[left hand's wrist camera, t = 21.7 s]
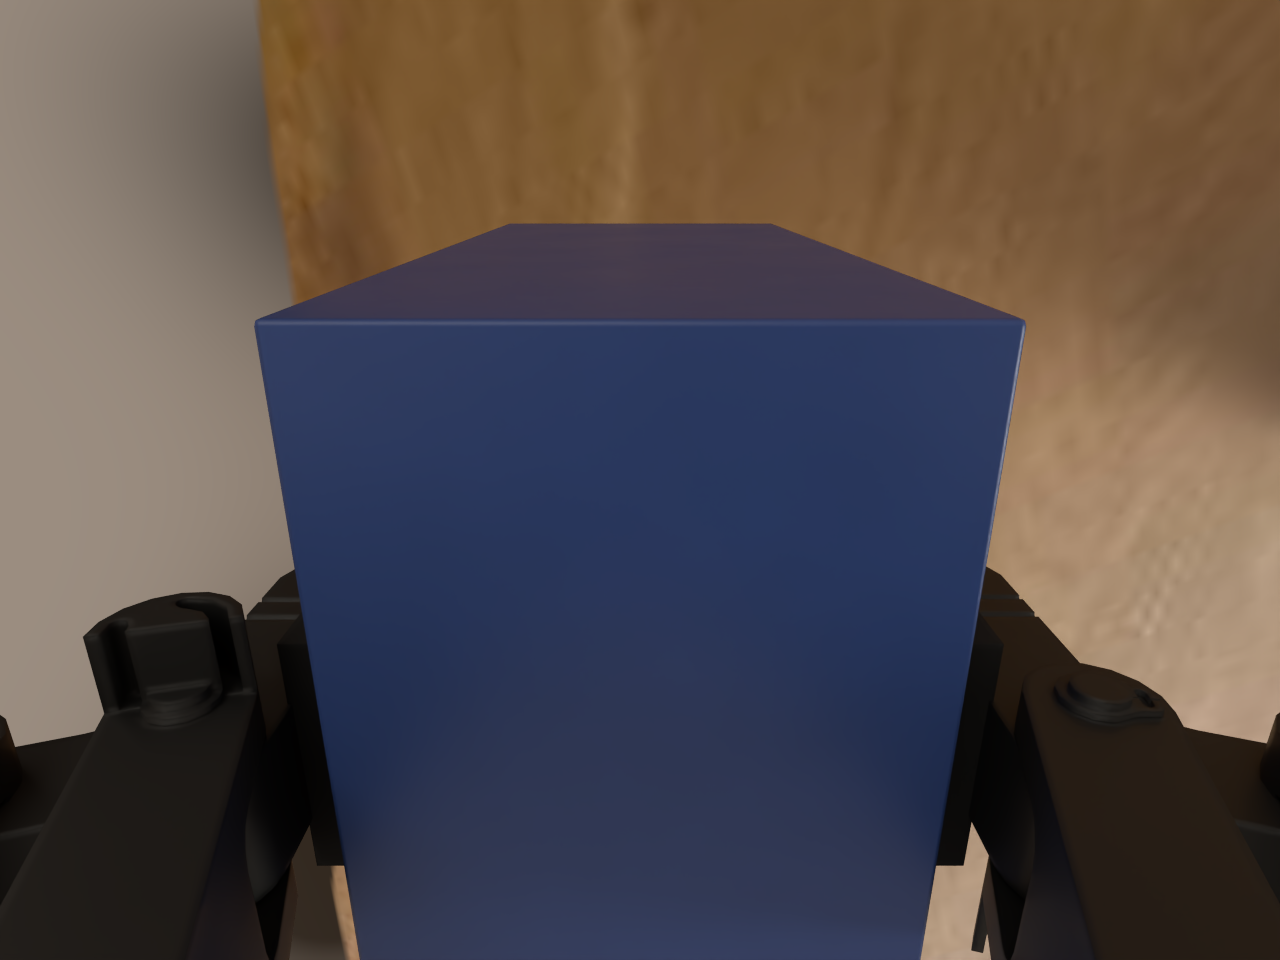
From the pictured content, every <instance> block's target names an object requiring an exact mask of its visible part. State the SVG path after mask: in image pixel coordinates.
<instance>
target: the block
mask: <svg viewBox="0 0 1280 960" xmlns="http://www.w3.org/2000/svg"><path fill="white" fill-rule="evenodd" d="M254 327H255V333H256V339H257V345H258V351H259V357H260V363H261V369H262V375H263V381H264V387H265V393H266V399H267V405H268V411H269V417H270V423H271V429H272V435H273V441H274V447H275V453H276V459H277V465H278V471H279V477H280V483H281V489H282V495H283V501H284V507H285V513H286V519H287V525H288V531H289V537H290V543H291V549H292V555H293V561H294V567H295V573H296V579H297V585H298V591H299V597H300V603H301V609H302V615H303V621H304V627H305V633H306V639H307V645H308V651H309V657H310V663H311V669H312V675H313V681H314V687H315V693H316V699H317V705H318V711H319V717H320V723H321V729H322V735H323V741H324V747H325V753H326V759H327V765H328V771H329V777H330V783H331V789H332V795H333V801H334V807H335V813H336V819H337V825H338V831H339V837H340V843H341V849H342V855H343V861H344V867H345V873H346V879H347V885H348V891H349V897H350V903H351V909H352V915H353V921H354V927H355V933H356V939H357V945H358V951H359V957H360V960H920V958H921V952H922V946H923V940H924V934H925V928H926V922H927V916H928V910H929V904H930V898H931V892H932V886H933V880H934V874H935V868H936V862H937V856H938V850H939V844H940V838H941V832H942V827H943V821H944V815H945V809H946V803H947V797H948V791H949V785H950V779H951V773H952V767H953V761H954V755H955V749H956V743H957V737H958V731H959V725H960V719H961V713H962V707H963V701H964V695H965V689H966V683H967V677H968V671H969V665H970V659H971V653H972V647H973V641H974V635H975V629H976V623H977V617H978V611H979V605H980V599H981V593H982V587H983V581H984V575H985V569H986V563H987V557H988V551H989V545H990V539H991V533H992V527H993V521H994V515H995V509H996V503H997V497H998V491H999V485H1000V479H1001V473H1002V467H1003V461H1004V455H1005V449H1006V443H1007V437H1008V431H1009V425H1010V419H1011V413H1012V407H1013V401H1014V395H1015V389H1016V383H1017V377H1018V371H1019V365H1020V359H1021V353H1022V347H1023V341H1024V335H1025V329H1026V324H1025V321H1024V320H1023V319H1020V318H1018V317H1015V316H1013V315H1010V314H1007V313H1005V312H1002V311H999V310H997V309H994V308H991V307H989V306H986V305H984V304H981V303H978V302H976V301H973V300H970V299H968V298H965V297H963V296H960V295H957V294H955V293H952V292H949V291H947V290H944V289H941V288H939V287H936V286H934V285H931V284H928V283H926V282H923V281H920V280H918V279H915V278H912V277H910V276H907V275H905V274H902V273H899V272H897V271H894V270H891V269H889V268H886V267H884V266H881V265H878V264H876V263H873V262H870V261H868V260H865V259H862V258H860V257H857V256H855V255H852V254H849V253H847V252H844V251H841V250H839V249H836V248H833V247H831V246H828V245H826V244H823V243H820V242H818V241H815V240H812V239H810V238H807V237H805V236H802V235H799V234H797V233H794V232H791V231H789V230H786V229H783V228H781V227H778V226H776V225H773V224H508V225H505V226H503V227H500V228H497V229H495V230H492V231H489V232H487V233H484V234H481V235H479V236H476V237H473V238H471V239H468V240H466V241H463V242H460V243H458V244H455V245H452V246H450V247H447V248H444V249H442V250H439V251H437V252H434V253H431V254H429V255H426V256H423V257H421V258H418V259H415V260H413V261H410V262H407V263H405V264H402V265H400V266H397V267H394V268H392V269H389V270H386V271H384V272H381V273H378V274H376V275H373V276H371V277H368V278H365V279H363V280H360V281H357V282H355V283H352V284H349V285H347V286H344V287H341V288H339V289H336V290H334V291H331V292H328V293H326V294H323V295H320V296H318V297H315V298H312V299H310V300H307V301H304V302H302V303H299V304H297V305H294V306H291V307H289V308H286V309H283V310H281V311H278V312H276V313H273V314H270V315H268V316H265V317H262V318H260V319H258V320H256V321H255V326H254Z"/></svg>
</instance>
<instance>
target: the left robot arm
mask: <svg viewBox="0 0 1280 960" xmlns="http://www.w3.org/2000/svg"><path fill="white" fill-rule="evenodd" d="M83 639H84V642H85V646H86V650H87V653H88V657H89V660H90V664H91V668H92V671H93V675H94V678H95V682H96V685H97V689H98V692H99V696H100V700H101V703H102V707H103V710H104V715H103V717H102V719H101V721H100V723H99V724H98V726H97V728H96V730H95V731H94V732H90V733H86V734H81V735H76V736H71V737H66V738H61V739H55V740H50V741H45V742H39V743H35V744H29V745H24V746H18V747H15V746H14V742H13V739H12V736H11V733H10V730H9V727H8V724H7V721H6V719H5V718H4V717H2V716H1V715H0V960H289V957H290V949H291V942H292V935H293V928H294V920H295V913H296V906H297V898H298V893H297V886H296V878H295V873H294V868H293V863H292V858H293V856H294V854H295V852H296V850H297V848H298V846H299V844H300V842H301V840H302V839H303V837H304V835H305V833H306V831H307V829H308V827H309V825H310V829H311V835H312V840H313V846H314V851H315V857H316V862H317V866H344V861H343V855H342V849H341V843H340V837H339V831H338V825H337V819H336V813H335V807H334V801H333V795H332V789H331V783H330V777H329V771H328V765H327V759H326V753H325V747H324V741H323V735H322V729H321V723H320V717H319V711H318V705H317V699H316V693H315V687H314V681H313V675H312V669H311V663H310V657H309V651H308V645H307V639H306V633H305V627H304V621H303V615H302V609H301V603H300V597H299V591H298V585H297V579H296V573H295V570H293V571H291V572H289V573H288V574H286V575H284V576H282V577H281V578H280V579H279V580H278V581H277V582H276V583H275V584H274V585H273V586H272V588H271V589H270V590H269V591H268V592H267V593H266V594H265V595H264V597H263V598H262V602H258V603H257V604H256V606H255V607H254V608H253V609H252V610H251V611H250V612H249V613H248V615H247V620H245V619H244V614H243V609H242V604H240V603H239V602H237V601H236V600H235V599H233V598H232V597H230V596H227V595H222V594H216V593H211V592H197V593H179V594H174V595H169V596H164V597H159V598H154V599H150V600H147V601H144V602H141V603H138V604H136V605H133V606H130V607H127V608H124V609H122V610H120V611H118V612H116V613H114V614H113V615H111V616H109V617H107V618H105V619H103V620H102V621H100V622H98V623H97V624H96V625H95V626H94V627H93V628H92V629H91V630H90V631H89V632H88V633H87V634H85V635H84V636H83ZM971 822H972V823H973V825H974V827H975V829H976V831H977V833H978V835H979V837H980V839H981V841H982V843H983V845H984V847H985V849H986V851H987V853H988V855H989V858H988V863H987V868H986V873H985V878H984V883H983V888H982V893H981V898H980V904H979V909H978V914H977V919H976V924H975V929H974V935H973V942H972V949H971V950H972V951H976V952H981V953H983V950H984V945H985V940H986V935H987V934H988V940H989V947H990V955H991V960H1280V713H1279V714H1277V715H1276V718H1275V721H1274V724H1273V727H1272V730H1271V733H1270V736H1269V739H1268V742H1267V744H1266V743H1261V742H1256V741H1251V740H1245V739H1240V738H1235V737H1230V736H1224V735H1219V734H1214V733H1208V732H1203V731H1198V730H1194V729H1190V728H1186V727H1183V725H1182V723H1181V721H1180V719H1179V717H1178V716H1177V714H1176V712H1175V711H1174V710H1173V709H1172V708H1171V706H1170V705H1169V704H1168V703H1167V702H1166V701H1165V700H1164V698H1163V697H1162V696H1161V695H1159V694H1157V693H1156V692H1154V691H1153V690H1151V689H1150V688H1148V687H1147V686H1145V685H1144V684H1142V683H1141V682H1139V681H1137V680H1134V679H1132V678H1130V677H1127V676H1125V675H1122V674H1120V673H1117V672H1115V671H1112V670H1109V669H1105V668H1100V667H1096V666H1092V665H1087V664H1083V663H1079V662H1078V660H1077V659H1076V658H1075V657H1074V656H1073V655H1072V654H1071V653H1070V651H1069V650H1068V649H1067V648H1066V647H1065V646H1064V645H1063V644H1062V643H1061V641H1060V640H1059V639H1058V638H1057V637H1056V636H1055V635H1054V634H1053V633H1052V631H1051V630H1050V629H1049V628H1048V627H1047V626H1046V625H1045V624H1044V622H1043V621H1042V620H1041V619H1040V618H1039V617H1035V616H1034V611H1033V610H1032V609H1031V608H1030V607H1029V606H1028V605H1027V604H1026V602H1025V601H1024V600H1023V599H1019V595H1018V593H1017V592H1016V591H1015V590H1014V589H1013V588H1012V587H1011V586H1010V585H1009V583H1008V582H1007V581H1006V580H1005V579H1004V578H1003V577H1002V576H1001V575H1000V574H998V573H997V572H995V571H993V570H991V569H990V568H988V567H986V569H985V575H984V581H983V587H982V593H981V599H980V605H979V611H978V617H977V623H976V629H975V635H974V641H973V647H972V653H971V659H970V665H969V671H968V677H967V683H966V689H965V695H964V701H963V707H962V713H961V719H960V725H959V731H958V737H957V743H956V749H955V755H954V761H953V767H952V773H951V779H950V785H949V791H948V797H947V803H946V809H945V815H944V821H943V827H942V832H941V838H940V844H939V850H938V856H937V862H936V866H964V860H965V855H966V849H967V844H968V838H969V833H970V827H971Z"/></svg>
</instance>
